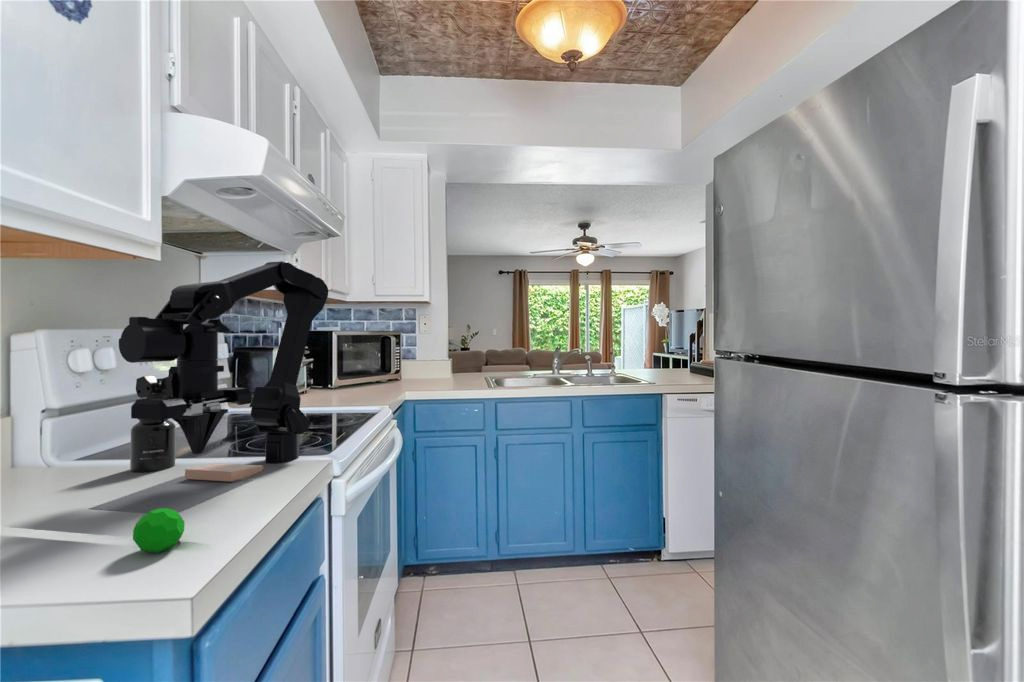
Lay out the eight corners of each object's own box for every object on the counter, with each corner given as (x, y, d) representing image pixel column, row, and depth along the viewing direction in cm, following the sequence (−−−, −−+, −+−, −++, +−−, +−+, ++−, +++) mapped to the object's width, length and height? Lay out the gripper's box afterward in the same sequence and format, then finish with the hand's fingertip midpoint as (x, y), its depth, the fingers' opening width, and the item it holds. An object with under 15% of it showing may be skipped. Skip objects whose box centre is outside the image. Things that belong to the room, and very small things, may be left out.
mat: (182, 480, 84) (182, 476, 84) (253, 484, 82) (253, 480, 82) (88, 514, 68) (88, 508, 68) (173, 520, 66) (173, 514, 66)
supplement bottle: (147, 478, 85) (147, 412, 85) (121, 475, 87) (120, 410, 87) (184, 468, 92) (184, 406, 92) (159, 465, 94) (158, 405, 94)
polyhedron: (146, 542, 59) (146, 504, 59) (191, 539, 60) (191, 501, 60) (124, 561, 54) (123, 520, 54) (172, 557, 55) (172, 516, 55)
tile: (184, 478, 82) (219, 471, 90) (230, 481, 80) (262, 474, 88) (185, 469, 82) (220, 463, 90) (231, 471, 80) (263, 465, 88)
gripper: (200, 357, 89) (200, 439, 89) (99, 362, 71) (99, 466, 71) (253, 358, 88) (253, 442, 88) (164, 363, 69) (164, 469, 69)
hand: (197, 453), depth 79 cm, fingers closed
